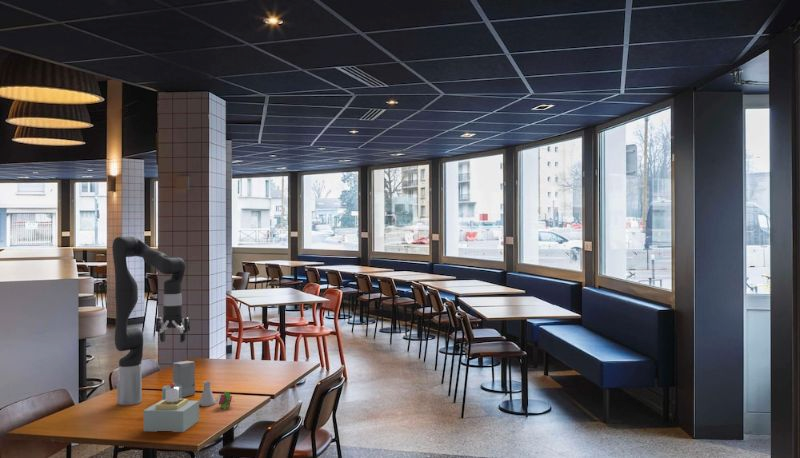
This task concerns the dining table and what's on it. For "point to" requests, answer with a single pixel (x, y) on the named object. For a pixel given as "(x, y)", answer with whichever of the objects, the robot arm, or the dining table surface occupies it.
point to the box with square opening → (171, 416)
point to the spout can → (172, 394)
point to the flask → (207, 395)
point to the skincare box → (185, 377)
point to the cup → (165, 392)
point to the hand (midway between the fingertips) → (172, 341)
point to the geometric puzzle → (224, 400)
